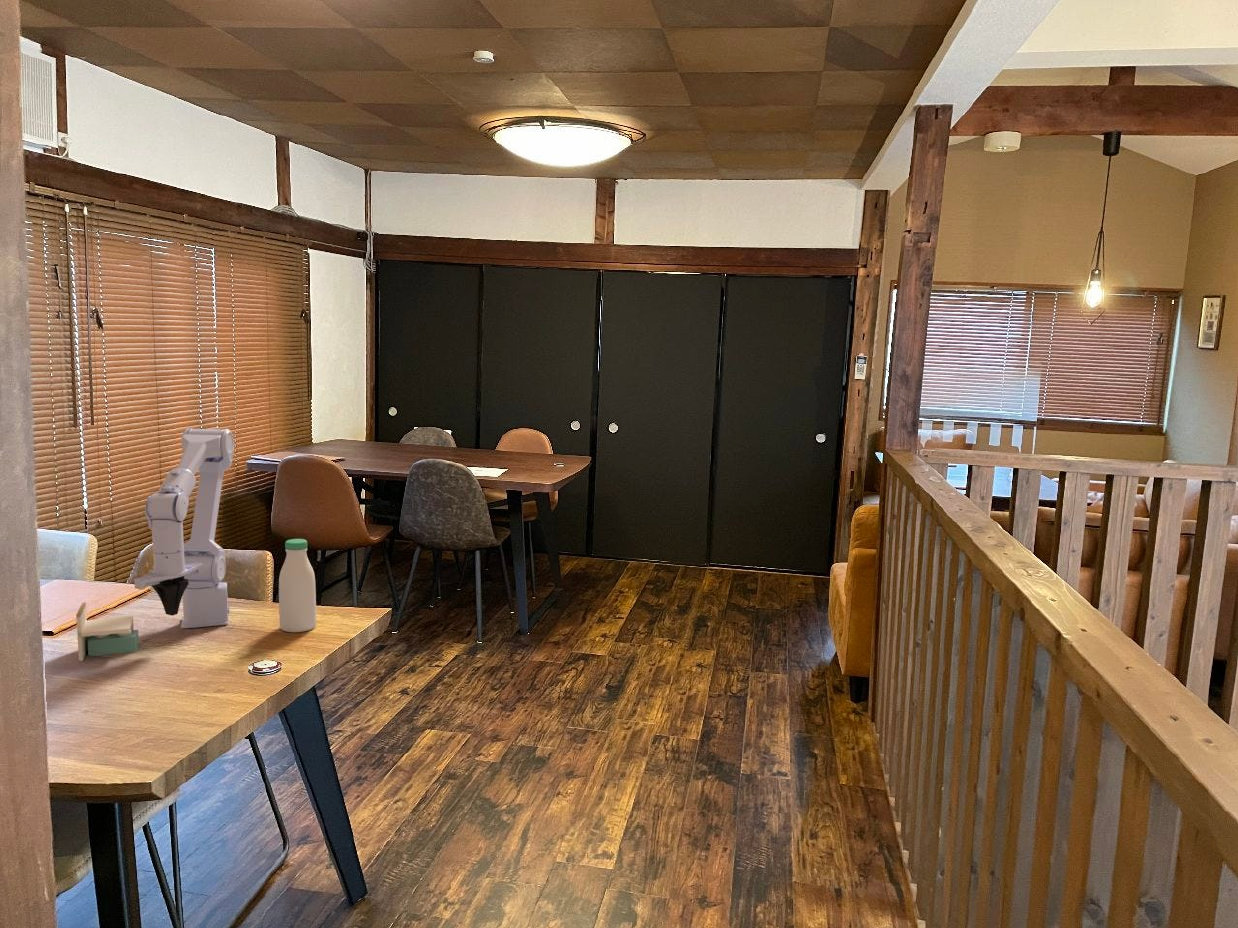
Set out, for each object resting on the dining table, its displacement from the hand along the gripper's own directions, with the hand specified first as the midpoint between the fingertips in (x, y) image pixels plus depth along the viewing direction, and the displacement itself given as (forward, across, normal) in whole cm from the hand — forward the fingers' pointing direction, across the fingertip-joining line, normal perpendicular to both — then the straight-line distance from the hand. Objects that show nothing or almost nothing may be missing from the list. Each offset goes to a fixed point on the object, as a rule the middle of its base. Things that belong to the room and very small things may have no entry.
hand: (171, 613), depth 187 cm
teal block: (+7, +8, -8) cm, 13 cm away
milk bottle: (+7, -22, +13) cm, 26 cm away
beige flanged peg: (+7, +9, -8) cm, 14 cm away
